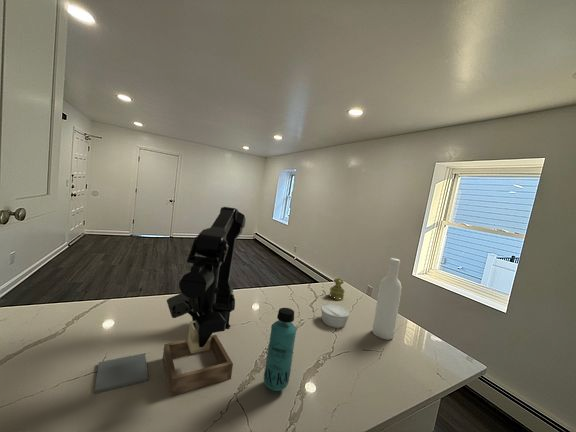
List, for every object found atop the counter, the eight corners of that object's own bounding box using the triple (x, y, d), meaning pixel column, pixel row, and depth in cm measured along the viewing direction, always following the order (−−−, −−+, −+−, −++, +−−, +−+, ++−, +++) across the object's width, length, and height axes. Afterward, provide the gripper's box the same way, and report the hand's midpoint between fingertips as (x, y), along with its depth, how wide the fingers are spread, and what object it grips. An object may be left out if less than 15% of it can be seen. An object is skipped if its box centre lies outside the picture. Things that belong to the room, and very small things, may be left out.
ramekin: (316, 323, 99) (318, 310, 98) (323, 313, 109) (325, 301, 109) (345, 333, 95) (347, 319, 94) (349, 321, 105) (351, 309, 105)
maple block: (204, 340, 68) (207, 318, 67) (209, 349, 64) (212, 327, 64) (187, 343, 65) (189, 321, 65) (191, 353, 61) (193, 330, 61)
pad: (144, 355, 67) (145, 353, 67) (147, 380, 59) (147, 377, 59) (98, 364, 62) (98, 362, 62) (94, 393, 53) (94, 390, 53)
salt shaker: (334, 293, 135) (337, 275, 135) (346, 299, 130) (349, 280, 129) (326, 296, 130) (329, 277, 130) (338, 301, 125) (341, 282, 124)
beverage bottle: (262, 377, 65) (272, 303, 64) (287, 378, 66) (298, 305, 65) (261, 396, 59) (273, 314, 57) (289, 398, 59) (301, 317, 58)
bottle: (395, 342, 93) (408, 263, 91) (373, 336, 94) (386, 259, 93) (391, 331, 101) (403, 258, 99) (371, 327, 102) (382, 255, 100)
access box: (214, 347, 75) (216, 334, 74) (231, 378, 63) (232, 363, 63) (162, 358, 67) (164, 344, 67) (170, 396, 55) (172, 379, 55)
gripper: (166, 272, 67) (159, 328, 68) (178, 301, 51) (170, 373, 52) (208, 270, 73) (201, 322, 74) (230, 296, 57) (222, 360, 58)
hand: (198, 341), depth 64 cm, fingers closed on maple block, 4 cm apart
